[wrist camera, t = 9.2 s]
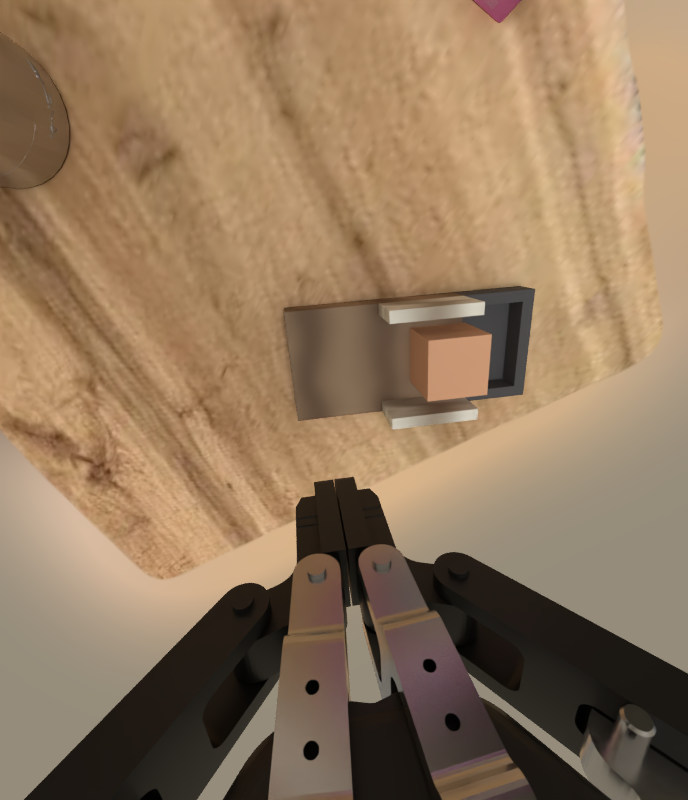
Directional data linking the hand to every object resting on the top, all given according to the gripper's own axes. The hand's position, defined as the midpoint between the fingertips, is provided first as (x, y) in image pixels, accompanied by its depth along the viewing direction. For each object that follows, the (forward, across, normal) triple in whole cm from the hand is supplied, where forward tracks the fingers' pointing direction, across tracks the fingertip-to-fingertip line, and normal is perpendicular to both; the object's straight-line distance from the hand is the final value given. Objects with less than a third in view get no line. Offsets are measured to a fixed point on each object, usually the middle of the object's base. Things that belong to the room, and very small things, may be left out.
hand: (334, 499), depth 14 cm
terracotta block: (+20, -12, +1) cm, 23 cm away
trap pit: (+23, -17, +1) cm, 29 cm away
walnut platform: (+23, -6, +1) cm, 24 cm away
